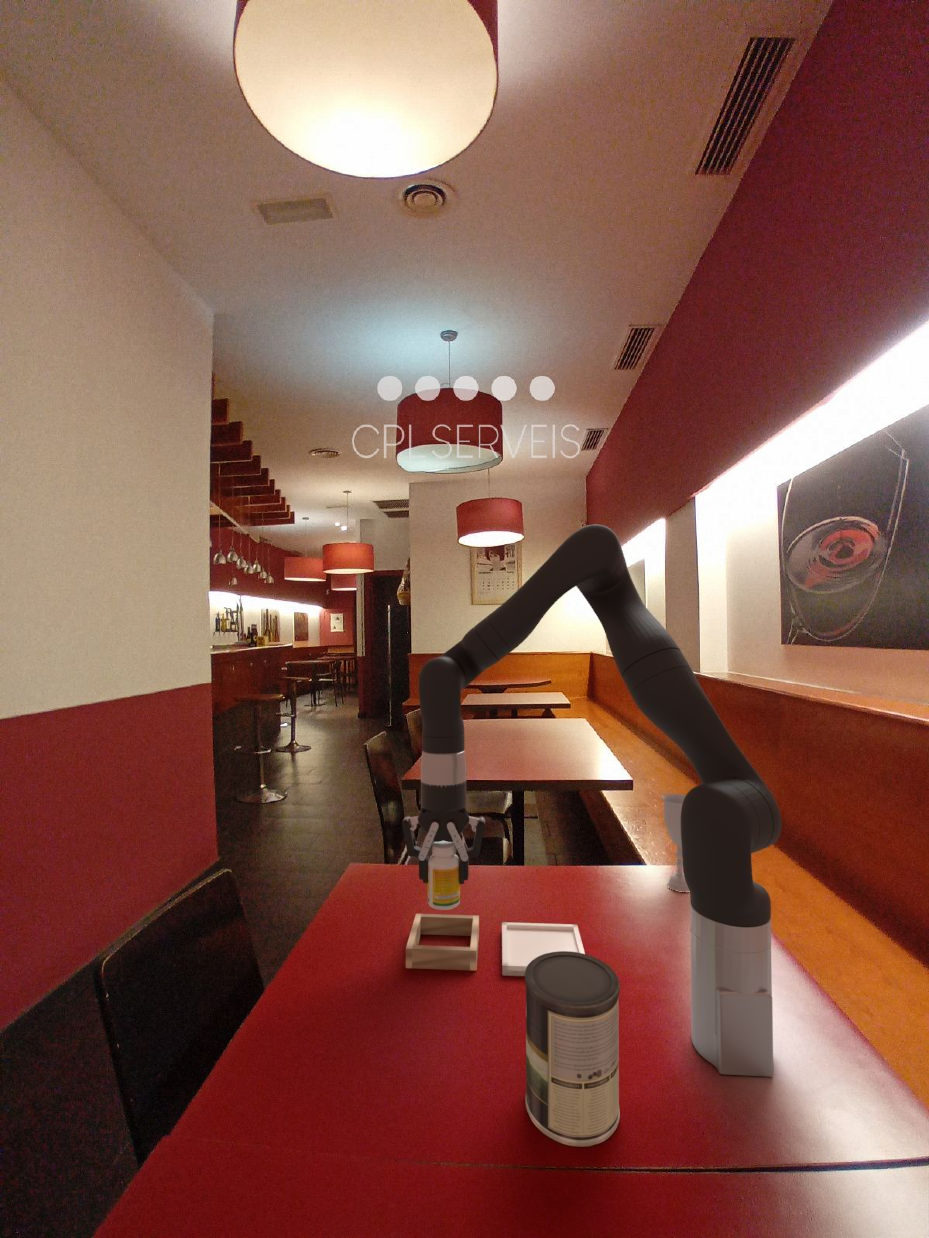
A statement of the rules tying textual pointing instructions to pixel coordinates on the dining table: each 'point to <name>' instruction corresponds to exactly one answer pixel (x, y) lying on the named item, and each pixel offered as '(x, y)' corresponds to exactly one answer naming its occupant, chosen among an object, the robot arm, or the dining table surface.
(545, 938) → the ceramic tray
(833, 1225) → the dining table surface
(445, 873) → the supplement bottle
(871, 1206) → the dining table surface
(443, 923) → the oak holder
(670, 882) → the chalice
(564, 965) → the coffee can
